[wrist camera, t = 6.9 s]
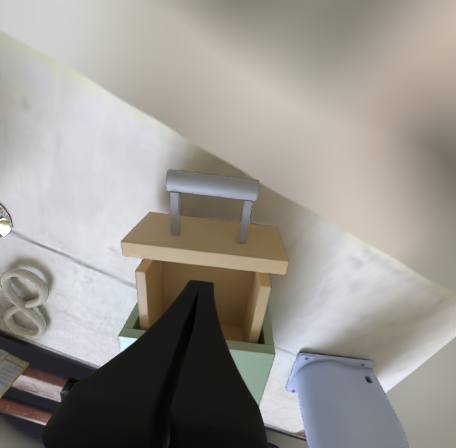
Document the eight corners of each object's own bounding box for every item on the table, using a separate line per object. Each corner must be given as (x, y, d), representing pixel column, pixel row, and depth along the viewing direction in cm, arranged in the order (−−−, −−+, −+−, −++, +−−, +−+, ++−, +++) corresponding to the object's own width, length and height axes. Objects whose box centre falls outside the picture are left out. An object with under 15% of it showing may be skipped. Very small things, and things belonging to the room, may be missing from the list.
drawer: (146, 156, 18) (111, 171, 13) (289, 173, 18) (308, 194, 13) (154, 313, 25) (134, 359, 20) (254, 325, 25) (258, 374, 20)
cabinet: (150, 277, 24) (117, 336, 18) (266, 291, 24) (275, 354, 18) (154, 357, 30) (131, 423, 23) (247, 368, 30) (249, 437, 23)
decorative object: (52, 275, 24) (4, 259, 23) (44, 282, 23) (-7, 266, 23) (48, 337, 29) (8, 325, 28) (42, 345, 28) (0, 333, 27)
